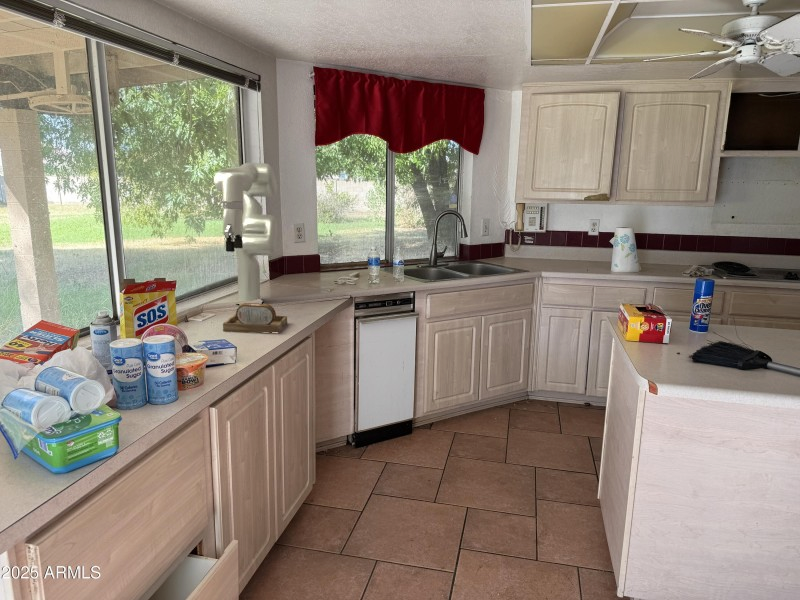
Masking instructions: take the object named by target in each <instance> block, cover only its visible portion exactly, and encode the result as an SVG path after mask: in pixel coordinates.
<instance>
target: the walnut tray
mask: <svg viewBox="0 0 800 600" xmlns="http://www.w3.org/2000/svg"><path fill="white" fill-rule="evenodd" d="M287 324H288V316H287V315H276V318H275V320H274V321H273V322H272V323H271V324H269V325H255V324H242V323H241V322H239V321H238V319H237V317H236V313H235V314H233V315H232V316H231V317H229V318H228V319H227V320H226V321H224V322H223V323H222V332H228V333H229V332H231V331H232V332H233V333H249V332H269V333H272V332H279V331H280V330H281V329H282V328H283V329H284V328H285V326H286V325H287ZM283 329H282V330H283ZM282 330H281V331H282ZM281 331H280V332H281ZM232 332H231V333H232ZM280 332H279V333H280ZM269 333H268V334H269Z"/></svg>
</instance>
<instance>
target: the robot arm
mask: <svg viewBox="0 0 800 600" xmlns="http://www.w3.org/2000/svg"><path fill="white" fill-rule="evenodd" d="M213 183H214V186H215V188H216V190H217V191H220V192H222V208H223V209H222V210H223V220H222V221H223V222H222V224H223V225H222V233H223V235H224V237H225V252H230V253H231V252H232V253H234V252H235V254H236V258H237V259H236V261H237V262H236V263H237V288H238V289H237V291H238V292H237V293H238V295H237V296H238V298H237V299H239V300H243V301H253V300H257V299H261V282H260V281H261V280H260V279H261V278H260V277H261V276H260V275H261V273H260V271H261V270H260V268H261V267H260V263H259V261H258V259H257V258H256V257H255V256H264V257H265V256H266V257H267V256H268V257H269V256H272V255H274V253H275V251H276V246H277V236H278V235H277V234H278V220H277V218H276V216H274V215H272V214H263V207H262V204H261V203H260V202H259V201H258V200H257V199H256V198H255V197H259V198H260V197H262V198H263V197H264V198H265V197H266V198H272V197H275V196H277V193H278V184H277V183H278V182H277V180H276V175H275V171H274V169H273V167H272V166H271V165H270V164H269V163H264V162H246V163H243V164H241V165H240V166H235V167H230V168H224V169H220V170H218V171H217V172H216V173H215V175H214V178H213Z"/></svg>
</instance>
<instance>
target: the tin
mask: <svg viewBox="0 0 800 600" xmlns="http://www.w3.org/2000/svg"><path fill="white" fill-rule="evenodd" d="M235 314H236V317H237V319H238V321H239V322H241V323H242V324H255V325H269V324H271V323H272V322H273V321H274V320H275V318H276V316H277V313H276V310H275V308H274V307H273V306H272V305H271V304H268V303H263V304H259V303H243V304H241V305H238V308H236V310H235Z"/></svg>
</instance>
